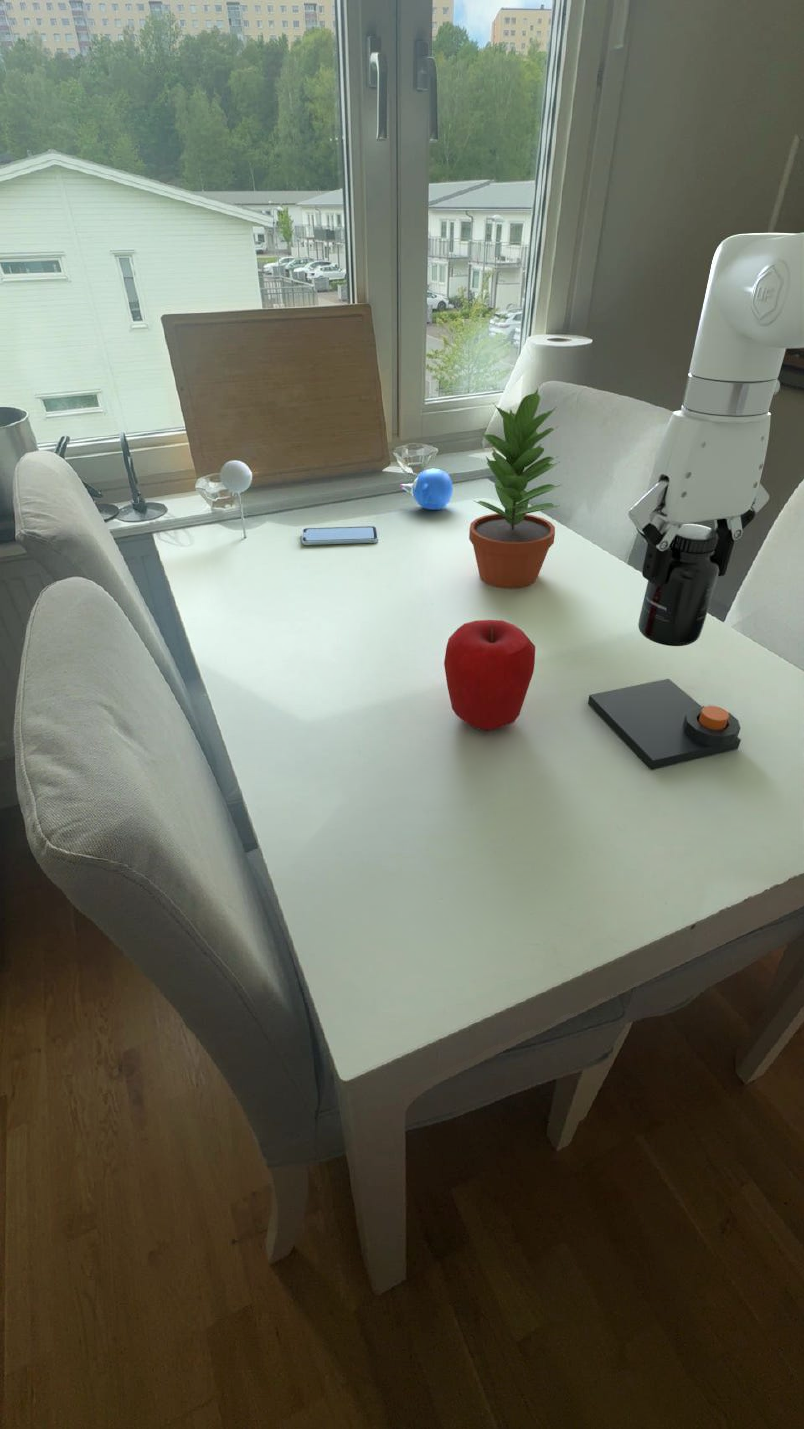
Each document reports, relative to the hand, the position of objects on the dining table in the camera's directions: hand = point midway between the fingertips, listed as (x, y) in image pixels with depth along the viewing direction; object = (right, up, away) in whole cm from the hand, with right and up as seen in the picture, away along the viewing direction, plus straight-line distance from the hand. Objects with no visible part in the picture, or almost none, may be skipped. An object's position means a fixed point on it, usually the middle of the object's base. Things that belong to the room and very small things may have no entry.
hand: (683, 575), depth 73 cm
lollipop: (-62, +21, +64) cm, 92 cm away
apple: (-20, -16, +13) cm, 28 cm away
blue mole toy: (-25, +31, +77) cm, 87 cm away
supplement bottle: (0, -6, +4) cm, 7 cm away
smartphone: (-43, +20, +63) cm, 79 cm away
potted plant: (-11, +9, +47) cm, 50 cm away
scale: (+2, -16, +11) cm, 20 cm away
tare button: (+6, -16, +7) cm, 19 cm away
